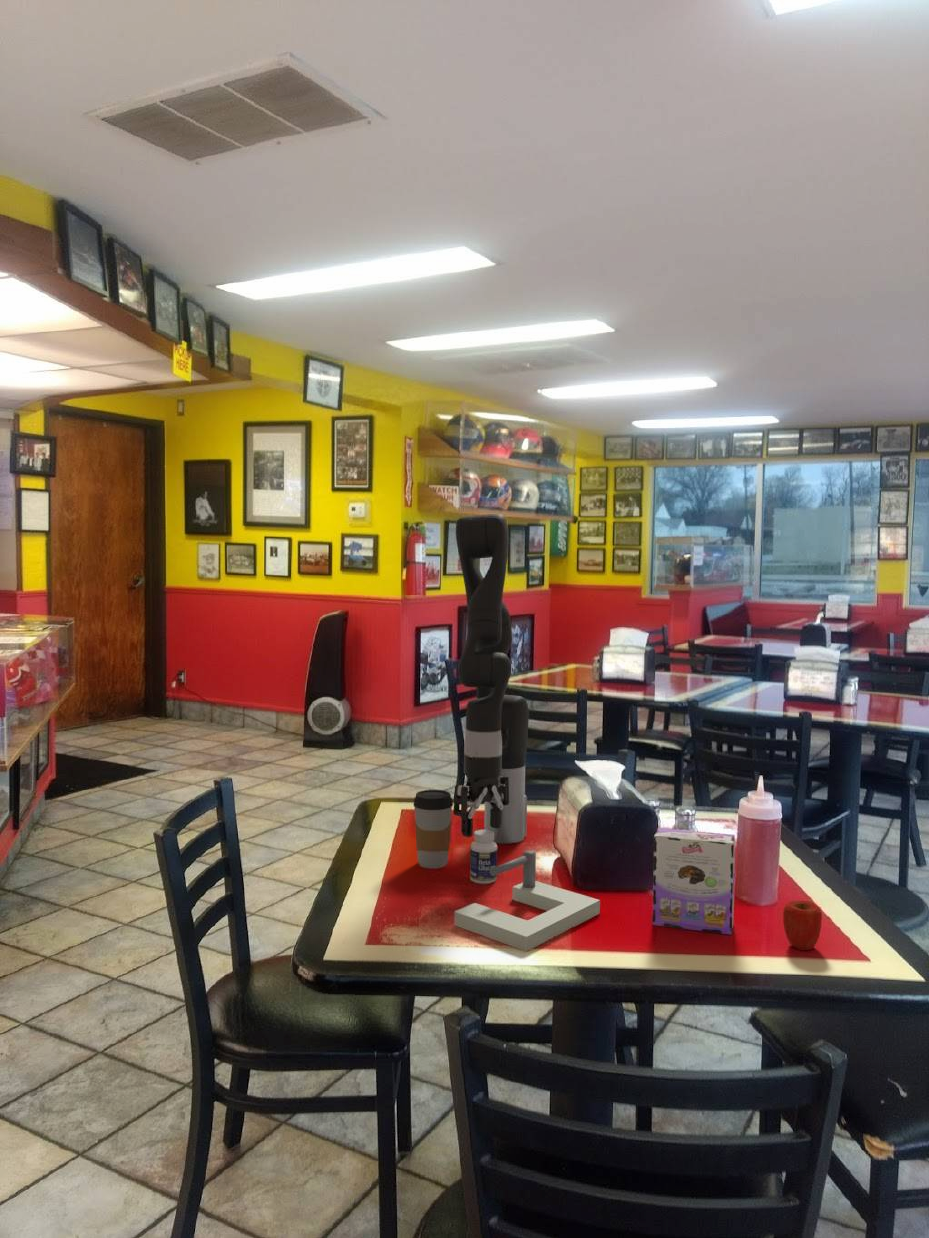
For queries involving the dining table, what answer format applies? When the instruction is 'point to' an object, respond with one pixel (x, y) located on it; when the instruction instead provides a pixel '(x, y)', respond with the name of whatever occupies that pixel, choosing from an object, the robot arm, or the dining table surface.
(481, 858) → the pill bottle
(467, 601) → the robot arm
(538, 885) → the grey u-shaped piece
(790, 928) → the apple
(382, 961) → the dining table surface
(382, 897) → the dining table surface
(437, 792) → the coffee cup
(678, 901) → the candy box
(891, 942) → the dining table surface
